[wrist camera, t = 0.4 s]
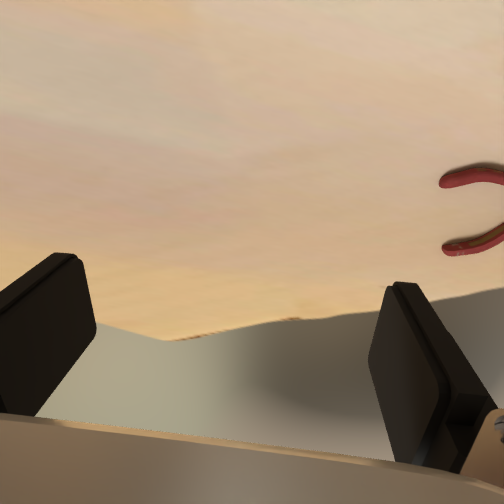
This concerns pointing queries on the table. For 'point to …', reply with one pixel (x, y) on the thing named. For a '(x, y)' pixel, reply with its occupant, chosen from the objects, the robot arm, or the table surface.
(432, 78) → the table surface
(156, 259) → the table surface
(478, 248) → the pliers
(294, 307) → the table surface
